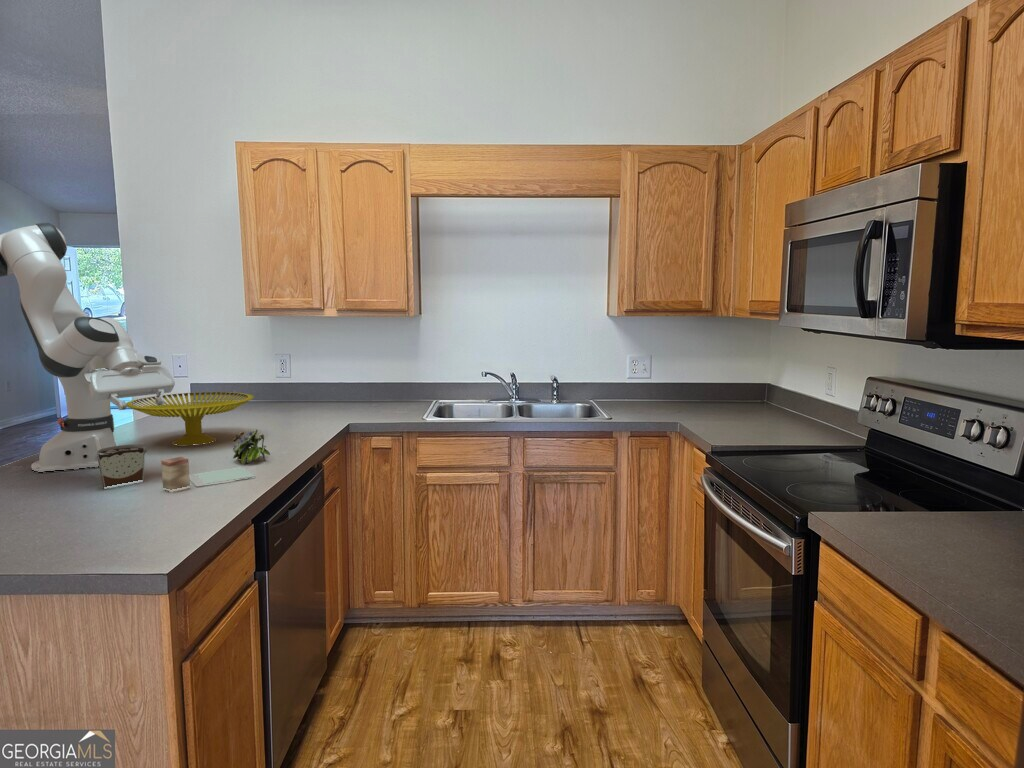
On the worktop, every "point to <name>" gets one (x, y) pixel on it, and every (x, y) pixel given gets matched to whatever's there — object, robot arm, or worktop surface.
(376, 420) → the worktop surface
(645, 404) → the worktop surface
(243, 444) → the passion flower
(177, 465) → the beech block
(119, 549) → the worktop surface
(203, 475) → the sage mat
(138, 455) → the food container
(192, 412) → the cake stand
